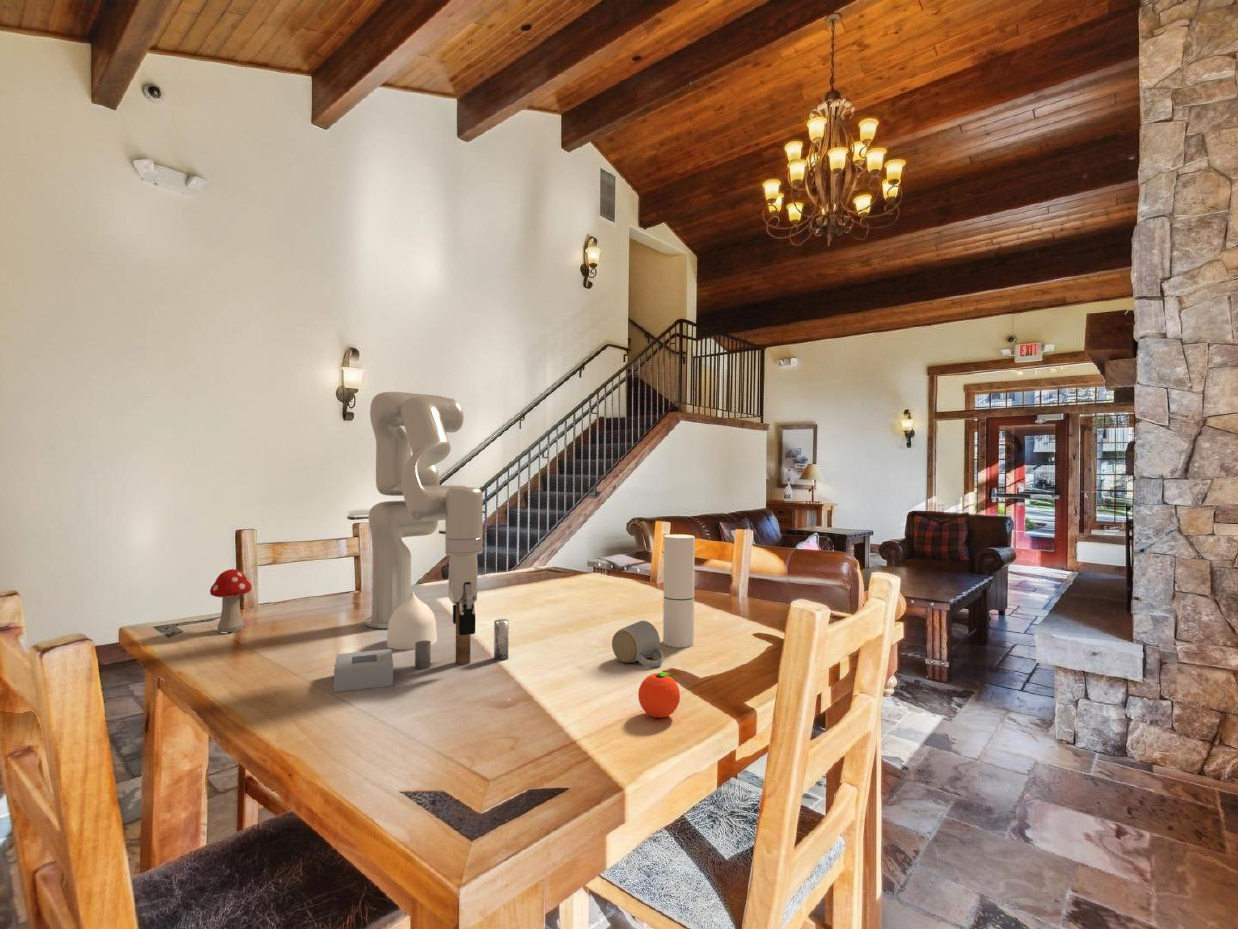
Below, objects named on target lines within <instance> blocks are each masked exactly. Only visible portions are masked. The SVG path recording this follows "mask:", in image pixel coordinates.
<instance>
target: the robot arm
mask: <svg viewBox="0 0 1238 929" xmlns="http://www.w3.org/2000/svg"><path fill="white" fill-rule="evenodd" d="M369 407H370V410H369V416H370V422H371V427H372V431H373V433H374V437H375V444H376V447H375V448H376V449H375V486H376V489H377V491H378V493H379V494H380V495H383V496H389V497H393V496H394V497H399V496H400V497H402V496H403V498H404V500H390V501H389V500H388V501H381V502H378V503H376V504H374V505H373V506H372V507H371V508H370V509H369V512H368V525H369V532H370V538H371V562H372V563H371V567H372V568H371V575H372V576H371V616H369V617H366V619H365V621H364V624H365V626H366V627H368V628H373V629H388V623H389V620H390V618H391V616H392V614H393V613H394V611H395V610H396V609H397V608H398V607H399V606H401V605H402V604H403V603H404V602H405V601H406V600H407V599H408V598H409V597H410V595H411V593H412V554H411V551H410V549H409V547H408V546H407V545H406V543H405V542H404V541H403V538H409V537H412V538H413V537H423V536H430V535H432V534H434V533H435V531H436V530H437V528H438V526H439V521H445V539H444V540H445V545H444V547H445V548H444V549H445V550H444V551H445V552H444V554H445V555H446V556H449V561H448V562H449V563H448V564H449V565H448V587H447V588H448V590H447V595H448V599H449V600H450V602H451V603H452V604H453V605H452V623H453V624H454V625H456V602H459V604H460V615H459V635H469V634H471V635H474V634H476V607H475V603H476V601H477V599H478V566H479V565H478V555H482V554H483V516H484V515H483V507H484V506H483V505H484V504H483V500H484V499H483V497H484V496H483V492H482V490H481V489H480V488H478V487H468V486H466V485H440V475H439V470H438V467H437V466H436V465H437V464H439V463H441V462H442V461H443V460H445V459H446V458H447V457H448V456H449V455H450V452H451V444H450V441H449V438H448V436H447V433H450V434H451V433H456V432H459V431H460V430H461V429H462V427H463V424H464V411H463V408H462V407H461V405H460V403H459V402H458V401H457V400H456V399H454V398H450V397H445V396H441V395H434V394H424V393H413V392H401V391H384V392H380V393H377V394H375V395H374V397H373V398H372V400H371V404H370V406H369ZM403 427H404V429H403ZM463 607H464V609H463Z"/></svg>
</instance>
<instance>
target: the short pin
mask: <svg viewBox="0 0 1238 929" xmlns="http://www.w3.org/2000/svg"><path fill="white" fill-rule="evenodd" d="M431 646H432V645H431V642H430V641H427V640H424V641H418V642H416V643H415V649H414V654H415V656H414V668H415V669H416V670H428V669H429V668H431V663H432V662H431V660H432V659H431V654H432V653H431V652H432V649H431V648H432V647H431Z"/></svg>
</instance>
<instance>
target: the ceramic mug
mask: <svg viewBox="0 0 1238 929" xmlns="http://www.w3.org/2000/svg"><path fill="white" fill-rule="evenodd" d="M611 640H612V641H611V648H612V651H613V654H614V656H615V657H616V658H617V659H618V660H619V661H620V662H622V663H624V664H632V663H636V662H639V663H640V664H642V665H643V666H645V667H648V668H658V667H660V666H661V665H662V663H663V661H664V654H663V652H662V650H661V649H660V645H661V638H660V635H659V632H658V630H657V628H656V627H655V626H654V625H653V624H652V623H651V622H649V621H647V620H639V621H638V622H635V623H633V624H630V625H628V626H624V627H623V628H621V629H619V630H617V631H616V632H615V633H614V634H613V636H612V639H611ZM655 655H656V656H657V657H658V659H659V660H649V659H648V658H651V657H653V656H655ZM659 665H660V666H659ZM657 666H658V667H657Z"/></svg>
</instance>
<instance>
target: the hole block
mask: <svg viewBox="0 0 1238 929" xmlns="http://www.w3.org/2000/svg"><path fill="white" fill-rule="evenodd" d="M392 650H393V648H388V649H387V648H386V649H377V650H367V651H358V652H348V653H347V652H346V653H345V652H344V653H338V654H336V659H335V664H334V669H333V693H340V692H347V691H348V692H349V691H358V690H366V689H373V688H382V687H383V688H384V687H390V686H394V660H393V652H392Z"/></svg>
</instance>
